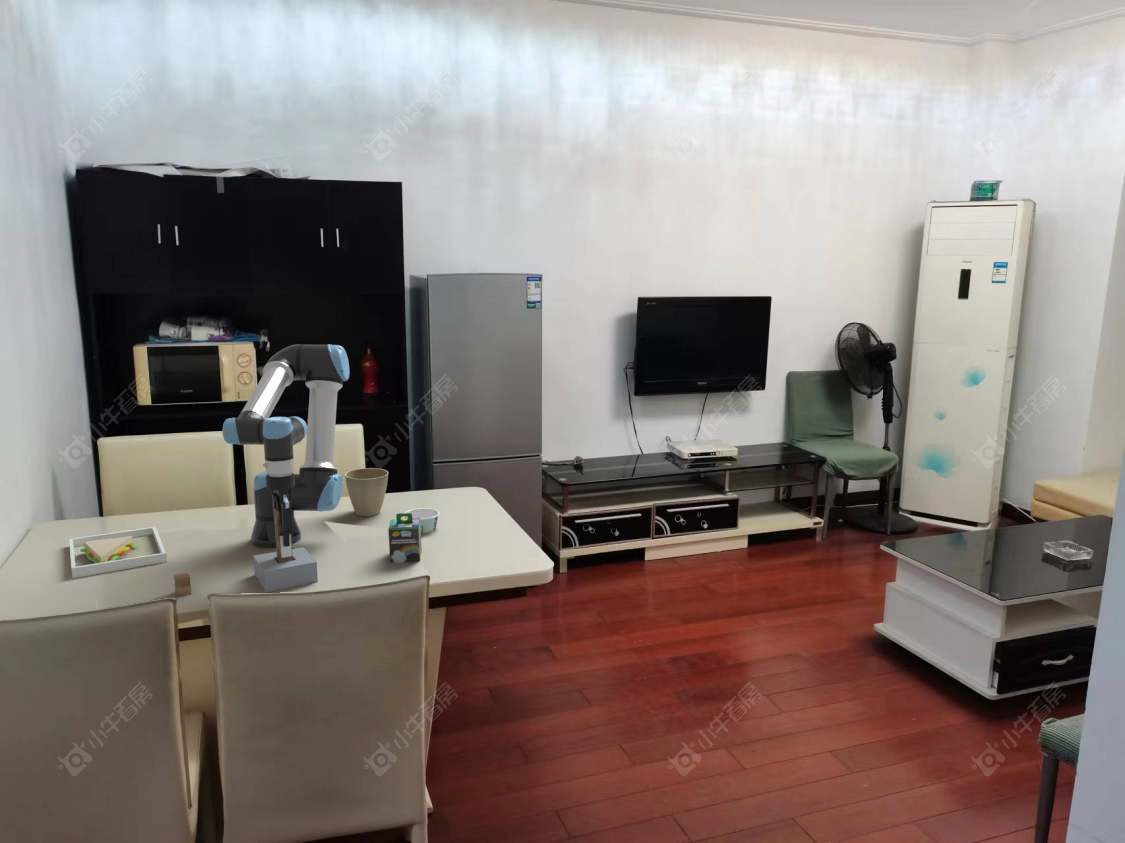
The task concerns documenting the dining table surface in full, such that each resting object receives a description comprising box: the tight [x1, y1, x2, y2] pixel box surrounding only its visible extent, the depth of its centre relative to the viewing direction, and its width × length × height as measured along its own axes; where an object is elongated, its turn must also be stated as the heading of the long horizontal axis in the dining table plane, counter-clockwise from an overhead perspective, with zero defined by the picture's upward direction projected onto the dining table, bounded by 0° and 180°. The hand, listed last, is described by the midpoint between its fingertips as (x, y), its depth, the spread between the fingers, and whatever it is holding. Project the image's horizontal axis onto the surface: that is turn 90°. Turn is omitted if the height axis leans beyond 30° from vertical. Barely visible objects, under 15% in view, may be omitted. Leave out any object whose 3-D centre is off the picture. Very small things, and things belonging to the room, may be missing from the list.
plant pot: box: [344, 467, 389, 518], centre depth 280 cm, size 15×15×16 cm
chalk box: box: [387, 512, 423, 564], centre depth 240 cm, size 9×9×15 cm
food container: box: [403, 507, 441, 534], centre depth 265 cm, size 12×12×6 cm
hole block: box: [253, 546, 319, 593], centre depth 224 cm, size 14×14×6 cm
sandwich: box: [79, 536, 140, 564], centre depth 236 cm, size 15×20×5 cm
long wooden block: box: [274, 508, 293, 563], centre depth 222 cm, size 4×4×18 cm
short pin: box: [173, 572, 192, 597], centre depth 214 cm, size 4×4×5 cm
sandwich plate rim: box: [68, 526, 168, 579], centre depth 241 cm, size 29×24×3 cm
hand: (284, 554), depth 223 cm, fingers closed on long wooden block, 3 cm apart
